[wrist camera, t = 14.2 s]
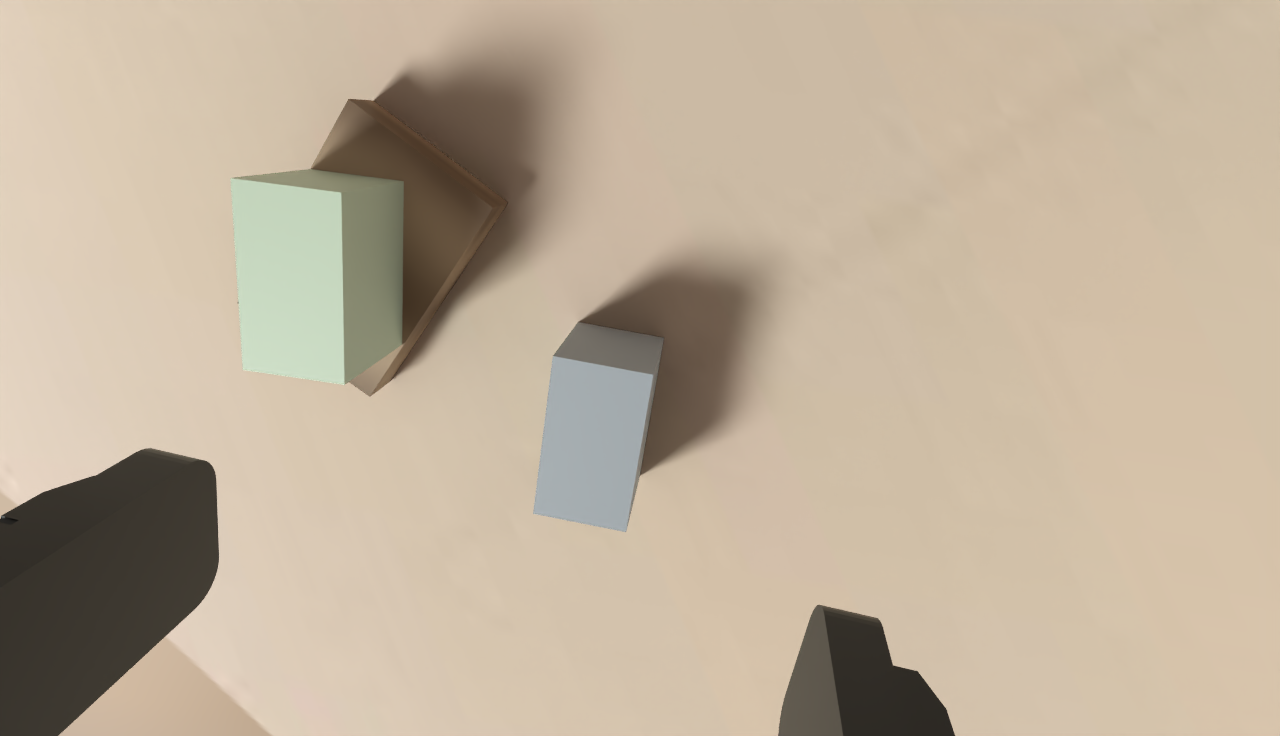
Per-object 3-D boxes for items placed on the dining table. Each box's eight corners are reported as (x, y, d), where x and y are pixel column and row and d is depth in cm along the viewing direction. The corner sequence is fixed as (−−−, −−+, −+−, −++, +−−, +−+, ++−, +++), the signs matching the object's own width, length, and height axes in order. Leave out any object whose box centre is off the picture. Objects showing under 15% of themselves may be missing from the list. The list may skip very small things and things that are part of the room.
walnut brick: (378, 100, 36) (348, 98, 33) (511, 201, 37) (493, 207, 34) (272, 290, 40) (237, 302, 37) (394, 377, 41) (369, 396, 38)
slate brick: (578, 321, 38) (552, 355, 33) (664, 337, 38) (653, 374, 32) (560, 459, 41) (533, 513, 35) (640, 475, 41) (626, 531, 35)
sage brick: (310, 169, 35) (230, 178, 29) (403, 181, 34) (341, 192, 29) (315, 332, 37) (243, 369, 32) (402, 344, 37) (344, 384, 31)
